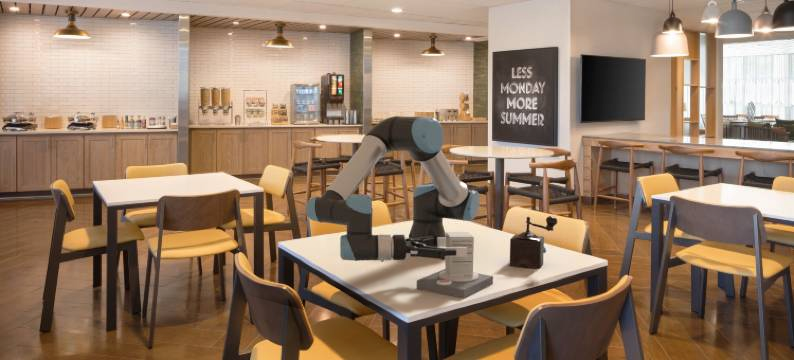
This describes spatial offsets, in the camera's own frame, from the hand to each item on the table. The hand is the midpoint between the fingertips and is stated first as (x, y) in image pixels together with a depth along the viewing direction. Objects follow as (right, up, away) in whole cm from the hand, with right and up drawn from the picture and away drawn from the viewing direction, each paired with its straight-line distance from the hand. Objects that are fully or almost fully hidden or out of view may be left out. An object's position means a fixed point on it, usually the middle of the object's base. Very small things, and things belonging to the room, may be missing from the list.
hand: (462, 246), depth 188 cm
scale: (-2, -12, 0) cm, 12 cm away
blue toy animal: (+33, -7, +47) cm, 58 cm away
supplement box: (-1, -9, +1) cm, 9 cm away
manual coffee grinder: (+27, -9, +26) cm, 38 cm away
